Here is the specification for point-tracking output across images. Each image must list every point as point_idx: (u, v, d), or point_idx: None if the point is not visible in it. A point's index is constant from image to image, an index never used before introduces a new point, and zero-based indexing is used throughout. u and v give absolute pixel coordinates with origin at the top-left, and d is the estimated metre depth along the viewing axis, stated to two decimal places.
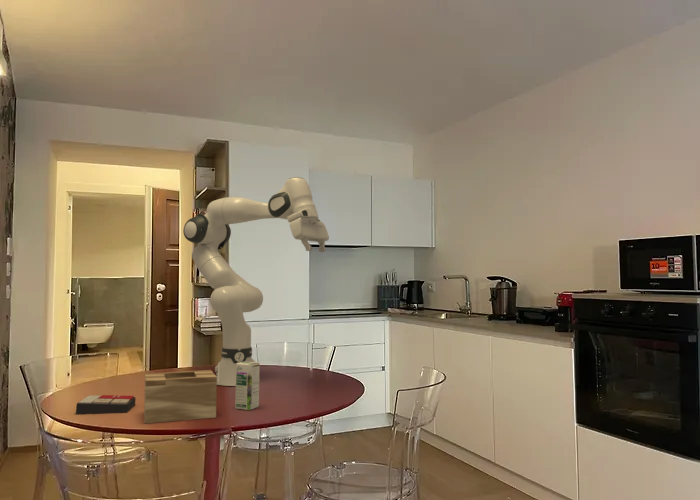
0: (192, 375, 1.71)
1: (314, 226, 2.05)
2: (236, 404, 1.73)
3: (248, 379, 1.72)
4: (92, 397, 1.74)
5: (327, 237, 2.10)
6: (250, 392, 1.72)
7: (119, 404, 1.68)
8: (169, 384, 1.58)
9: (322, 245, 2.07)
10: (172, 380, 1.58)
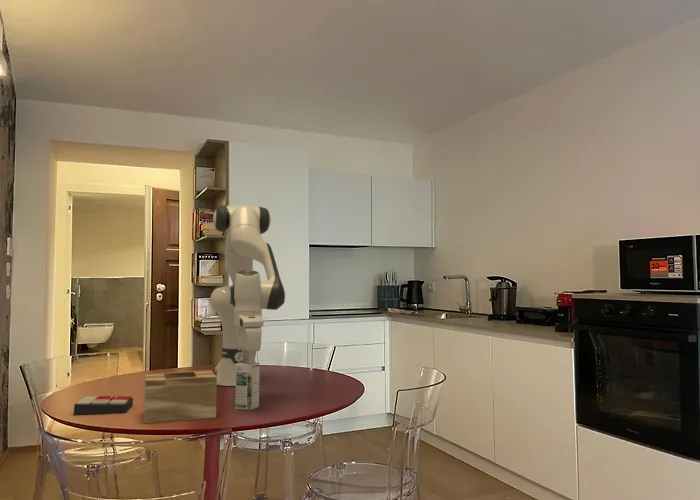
0: (192, 375, 1.71)
1: None
2: (236, 404, 1.73)
3: (248, 379, 1.72)
4: (89, 398, 1.72)
5: None
6: (250, 392, 1.72)
7: (117, 405, 1.67)
8: (169, 384, 1.58)
9: (246, 353, 1.80)
10: (172, 380, 1.58)
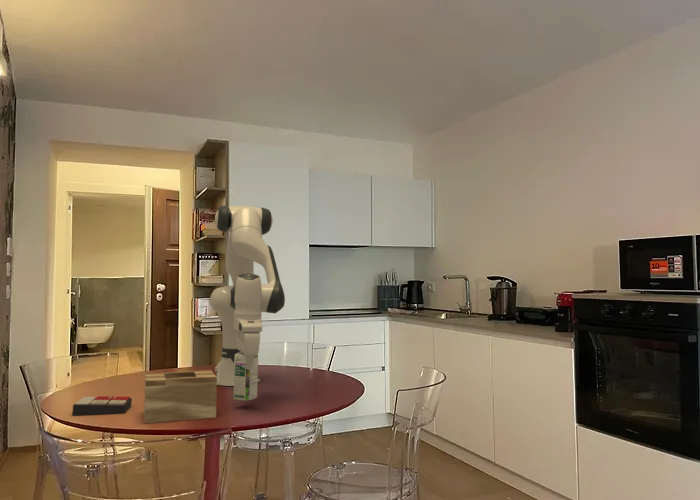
0: (192, 375, 1.71)
1: None
2: (234, 395, 1.73)
3: (246, 370, 1.72)
4: (88, 398, 1.72)
5: None
6: (249, 383, 1.72)
7: (117, 405, 1.67)
8: (169, 384, 1.58)
9: None
10: (172, 380, 1.58)
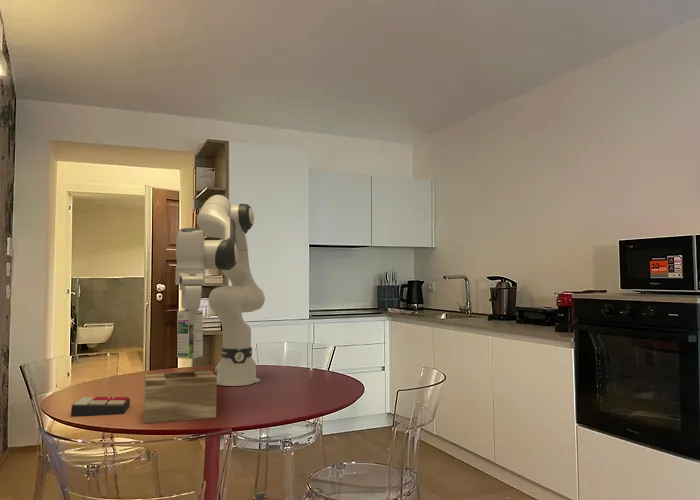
0: (192, 375, 1.71)
1: None
2: (178, 353, 1.66)
3: (189, 326, 1.64)
4: (86, 399, 1.71)
5: None
6: (192, 340, 1.64)
7: (116, 405, 1.66)
8: (169, 384, 1.58)
9: None
10: (172, 380, 1.58)
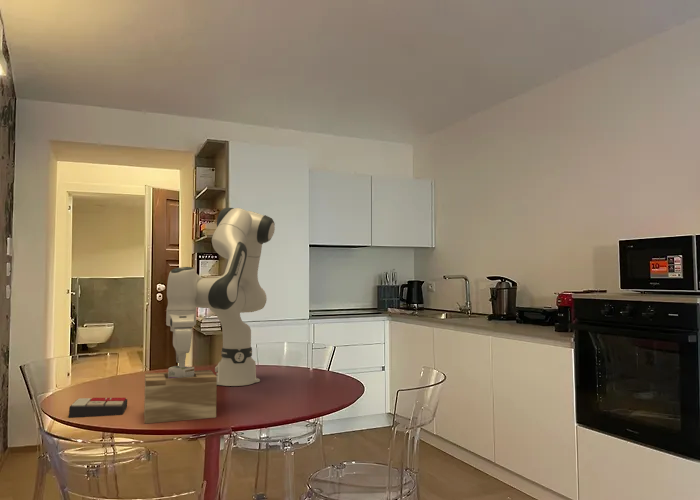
0: None
1: None
2: None
3: None
4: (83, 400, 1.69)
5: None
6: None
7: (114, 406, 1.65)
8: (169, 384, 1.58)
9: None
10: (172, 380, 1.58)
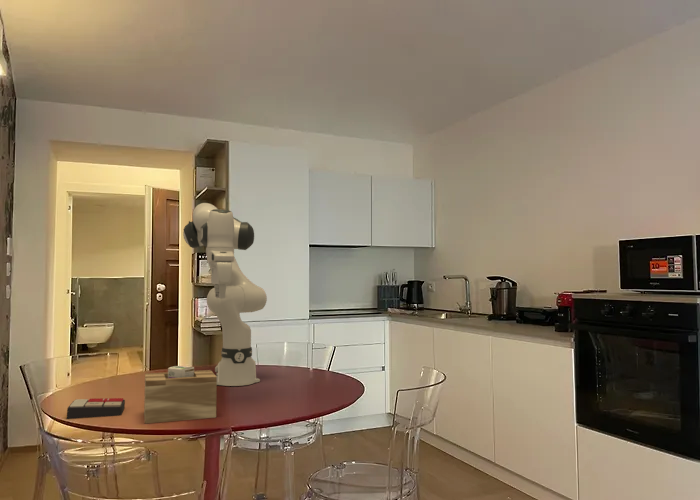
0: None
1: None
2: None
3: None
4: (80, 401, 1.68)
5: None
6: None
7: (113, 407, 1.64)
8: (169, 384, 1.58)
9: (219, 290, 1.86)
10: (172, 380, 1.58)
